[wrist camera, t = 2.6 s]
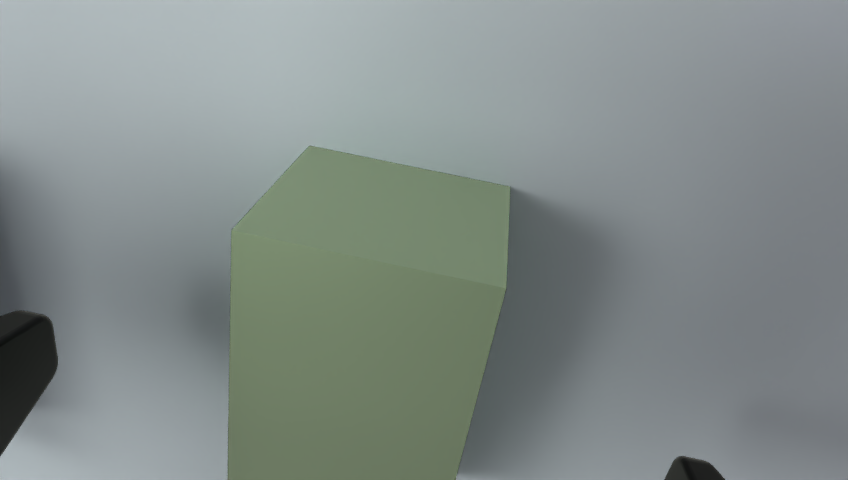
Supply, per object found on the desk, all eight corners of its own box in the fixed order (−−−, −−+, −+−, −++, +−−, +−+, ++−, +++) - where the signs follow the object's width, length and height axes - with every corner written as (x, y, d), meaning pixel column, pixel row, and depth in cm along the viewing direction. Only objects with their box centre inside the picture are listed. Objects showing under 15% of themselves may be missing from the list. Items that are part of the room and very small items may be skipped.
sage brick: (440, 465, 12) (418, 619, 9) (290, 431, 12) (226, 574, 10) (510, 181, 9) (506, 288, 7) (312, 141, 9) (231, 229, 7)
